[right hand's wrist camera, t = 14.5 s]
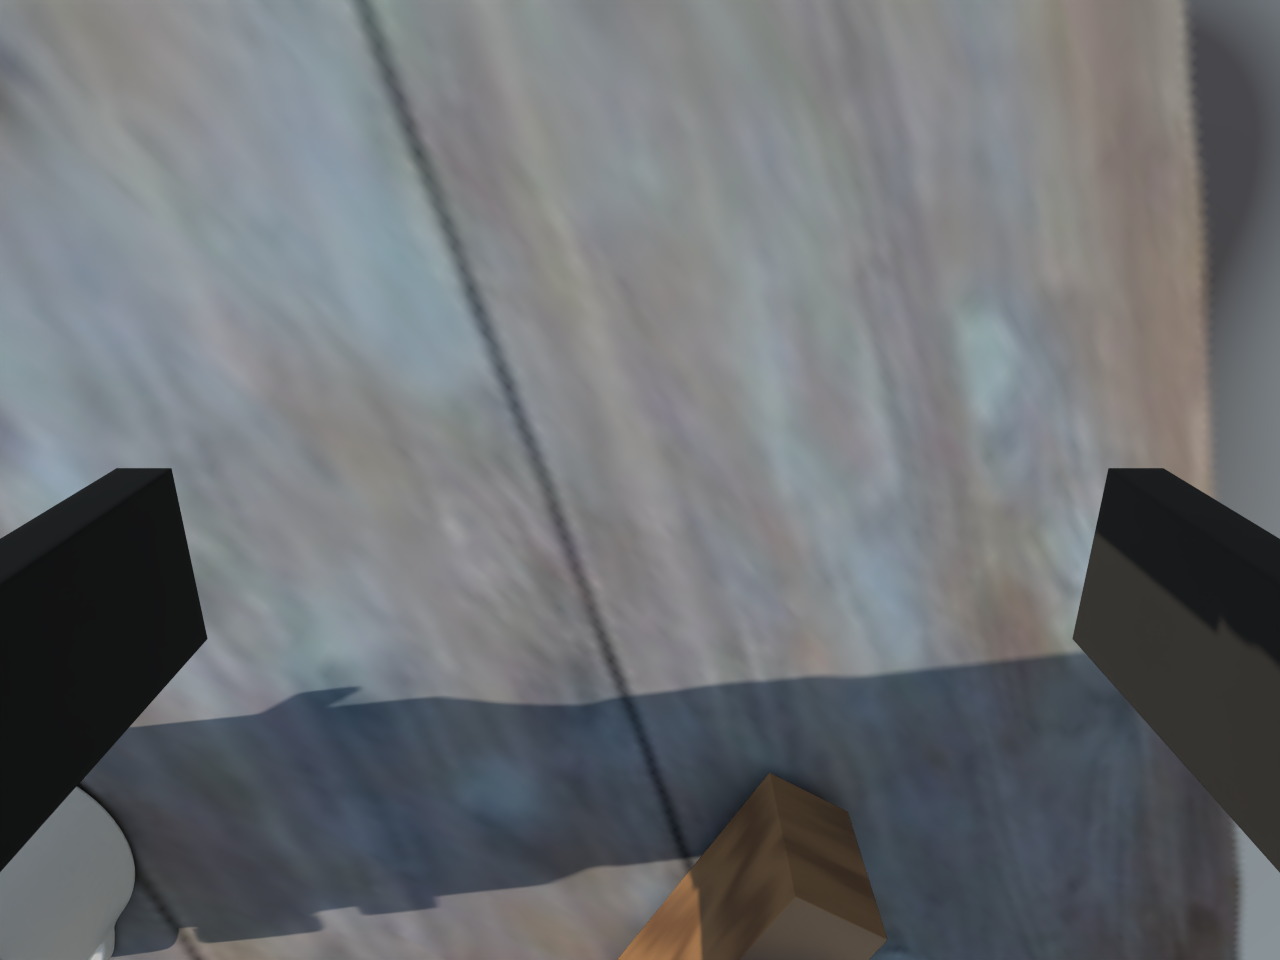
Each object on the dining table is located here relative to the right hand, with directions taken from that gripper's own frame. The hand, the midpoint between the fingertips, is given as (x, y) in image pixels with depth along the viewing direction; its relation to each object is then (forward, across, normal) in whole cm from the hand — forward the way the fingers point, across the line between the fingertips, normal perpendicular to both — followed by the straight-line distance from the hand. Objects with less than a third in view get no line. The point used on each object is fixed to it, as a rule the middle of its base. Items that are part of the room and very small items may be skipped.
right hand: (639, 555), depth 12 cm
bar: (+28, +4, -38) cm, 47 cm away
